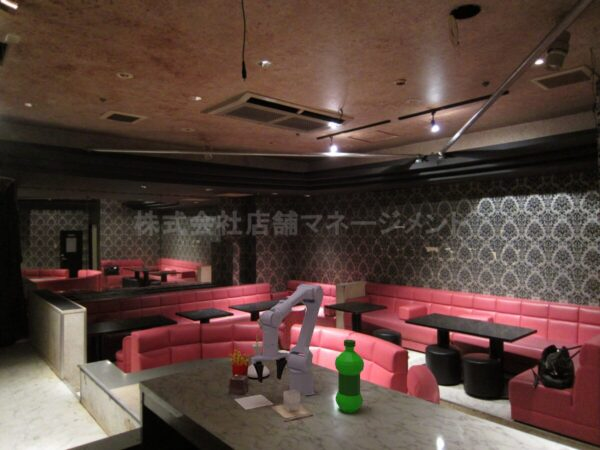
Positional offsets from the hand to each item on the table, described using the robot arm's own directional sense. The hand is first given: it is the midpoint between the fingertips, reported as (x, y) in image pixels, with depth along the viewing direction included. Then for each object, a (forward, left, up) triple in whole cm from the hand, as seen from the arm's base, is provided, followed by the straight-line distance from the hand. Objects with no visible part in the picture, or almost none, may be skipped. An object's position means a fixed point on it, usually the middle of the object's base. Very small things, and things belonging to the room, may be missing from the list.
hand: (269, 380), depth 157 cm
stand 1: (+5, -3, -9) cm, 11 cm away
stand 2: (-4, +10, -9) cm, 14 cm away
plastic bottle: (-24, +17, -10) cm, 31 cm away
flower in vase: (-11, -35, -10) cm, 38 cm away
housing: (-4, +10, -8) cm, 13 cm away
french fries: (+3, -24, -10) cm, 26 cm away
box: (+6, -15, -10) cm, 19 cm away
